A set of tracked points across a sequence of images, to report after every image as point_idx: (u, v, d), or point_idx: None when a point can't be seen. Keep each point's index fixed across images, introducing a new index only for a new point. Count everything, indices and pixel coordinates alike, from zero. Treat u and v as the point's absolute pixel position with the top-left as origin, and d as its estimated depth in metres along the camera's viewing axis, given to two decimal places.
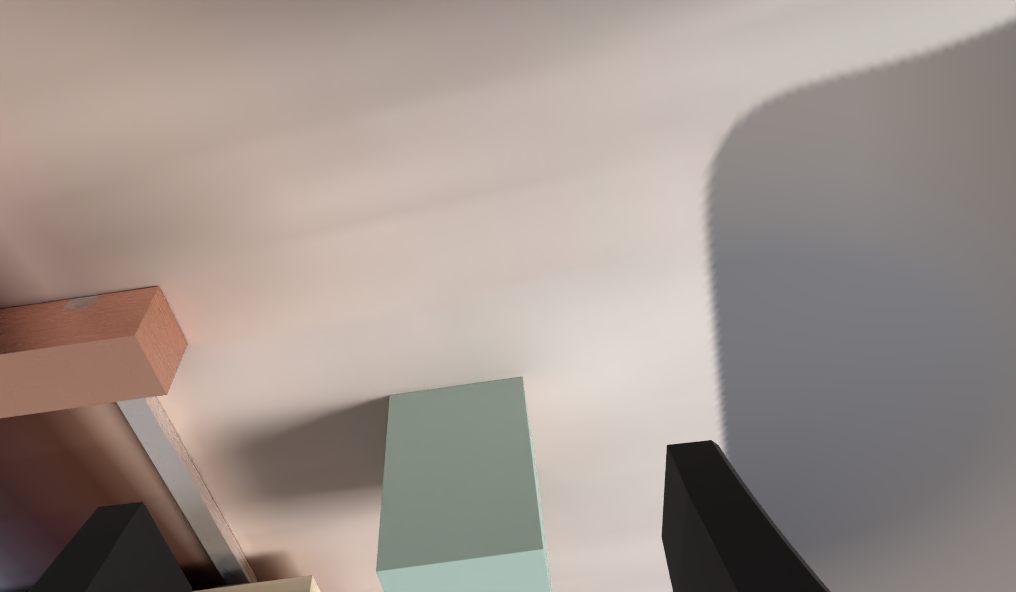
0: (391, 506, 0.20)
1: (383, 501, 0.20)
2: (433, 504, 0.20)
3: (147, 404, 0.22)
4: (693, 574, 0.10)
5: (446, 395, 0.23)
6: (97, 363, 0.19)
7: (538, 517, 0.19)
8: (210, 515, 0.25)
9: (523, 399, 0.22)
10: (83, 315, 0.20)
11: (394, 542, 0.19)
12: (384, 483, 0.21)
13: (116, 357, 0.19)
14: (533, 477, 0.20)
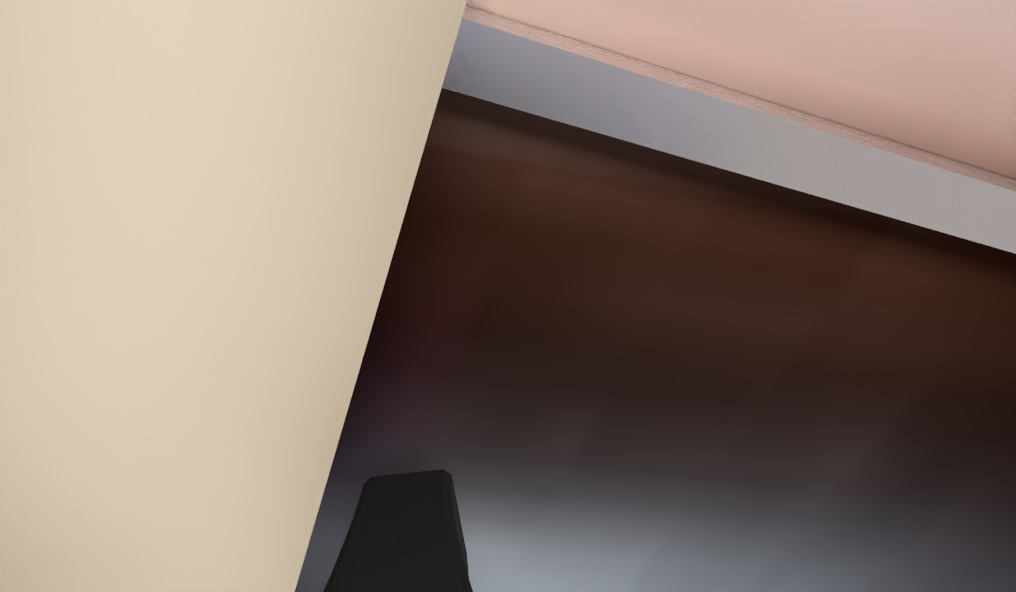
0: None
1: None
2: None
3: None
4: None
5: None
6: None
7: None
8: None
9: None
10: None
11: None
12: None
13: None
14: None
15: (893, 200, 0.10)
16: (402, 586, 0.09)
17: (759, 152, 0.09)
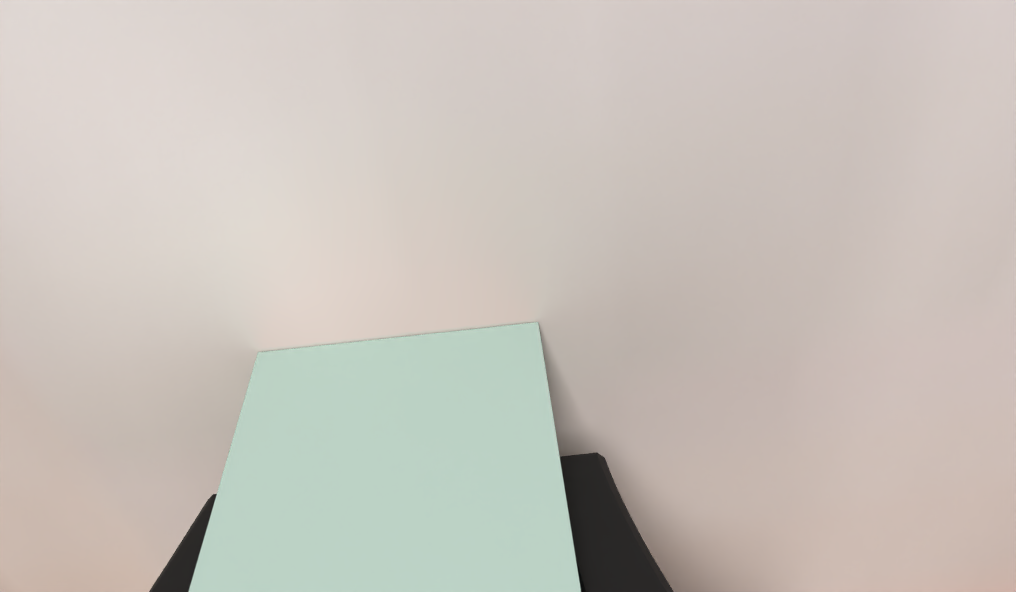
0: None
1: None
2: None
3: None
4: None
5: None
6: None
7: None
8: None
9: (245, 402, 0.10)
10: None
11: None
12: None
13: None
14: None
15: None
16: None
17: None
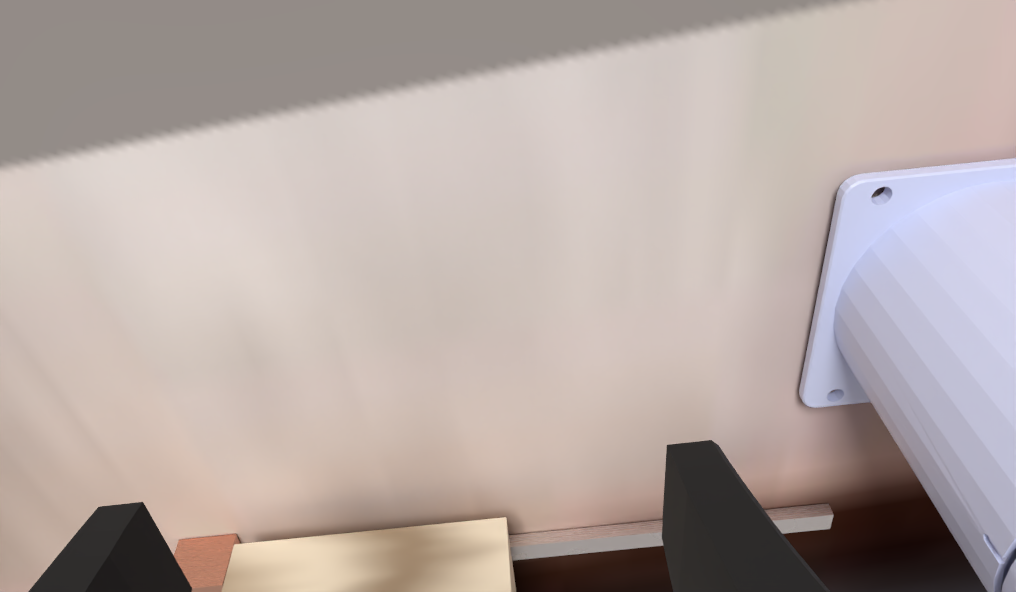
0: None
1: None
2: None
3: None
4: (693, 574, 0.10)
5: None
6: None
7: None
8: None
9: None
10: None
11: None
12: None
13: None
14: None
15: None
16: None
17: (629, 543, 0.28)
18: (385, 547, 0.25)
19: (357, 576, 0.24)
